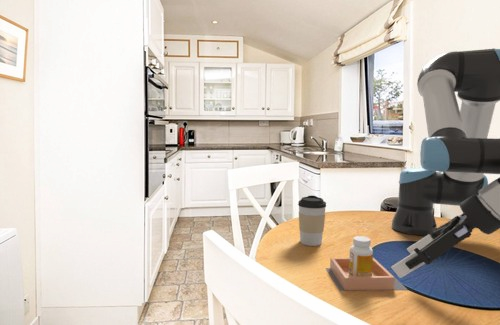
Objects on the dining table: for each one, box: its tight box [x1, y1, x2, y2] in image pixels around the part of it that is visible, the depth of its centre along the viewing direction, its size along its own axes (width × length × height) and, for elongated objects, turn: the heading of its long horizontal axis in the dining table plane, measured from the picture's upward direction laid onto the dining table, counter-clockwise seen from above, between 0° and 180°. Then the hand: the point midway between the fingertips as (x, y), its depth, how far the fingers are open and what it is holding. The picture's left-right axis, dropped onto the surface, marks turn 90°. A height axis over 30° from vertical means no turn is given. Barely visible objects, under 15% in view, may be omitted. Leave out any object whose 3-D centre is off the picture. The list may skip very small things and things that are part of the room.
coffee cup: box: [297, 195, 327, 247], centre depth 107 cm, size 9×9×15 cm
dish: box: [329, 257, 396, 291], centre depth 81 cm, size 12×12×3 cm
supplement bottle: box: [349, 235, 374, 276], centre depth 80 cm, size 5×5×10 cm
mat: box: [325, 267, 409, 292], centre depth 81 cm, size 16×12×1 cm
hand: (403, 262), depth 74 cm, fingers open, 13 cm apart
